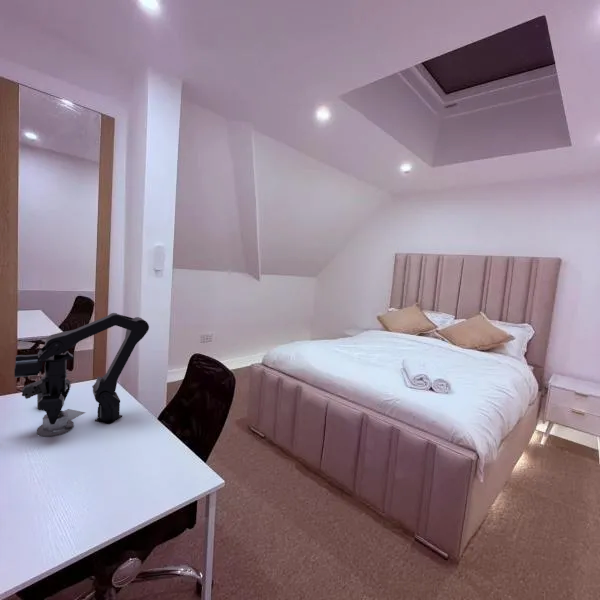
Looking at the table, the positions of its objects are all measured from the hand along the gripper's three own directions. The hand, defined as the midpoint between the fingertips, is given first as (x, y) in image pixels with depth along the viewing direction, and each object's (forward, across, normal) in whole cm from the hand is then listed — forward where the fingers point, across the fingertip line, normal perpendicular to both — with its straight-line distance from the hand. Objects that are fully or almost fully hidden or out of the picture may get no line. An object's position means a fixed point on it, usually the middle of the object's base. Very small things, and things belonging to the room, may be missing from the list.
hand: (55, 417), depth 109 cm
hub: (+4, 0, 0) cm, 4 cm away
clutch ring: (+3, 0, 0) cm, 3 cm away
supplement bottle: (+5, -20, -5) cm, 21 cm away
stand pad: (+4, -10, +2) cm, 11 cm away
